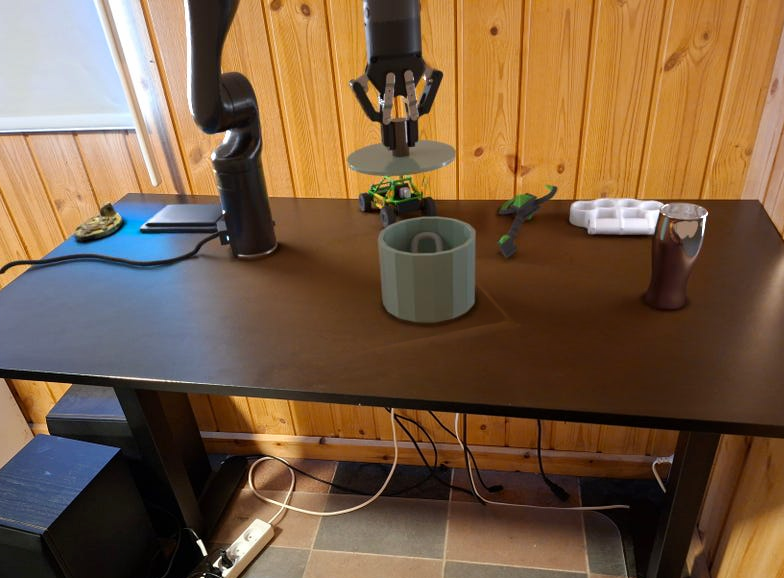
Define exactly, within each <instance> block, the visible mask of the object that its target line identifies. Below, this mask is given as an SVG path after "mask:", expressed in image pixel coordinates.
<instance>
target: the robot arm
mask: <svg viewBox="0 0 784 578" xmlns="http://www.w3.org/2000/svg"><path fill="white" fill-rule="evenodd" d="M240 2H241V0H184V12H185V13H184V14H185V27H186V42H187V44H186V45H187V46H186V47H187V49H186V50H187V51H186V52H187V53H186V54H187V57H186V58H187V99H188V106H189V112H190V114H191V117H192V120H193V122H194V124H195V125H196V127H197V128H198V129H199V130H200V131H201V132H202V133H203V134H206V135H210V136H212V135H213V136H214V135H219V134H222V133H225V135H224V137H223V140H222V142H221V143H220V144H219V145H218V146H217V147H216V148H215V149H214V150H213V152H212V154H211V158H210V160H211V165H212V170H213V173H214V179H215V182H216V186H217V187H216V188H217V192H218V196H219V201H220V204H221V206H222V211H223V216H224V221H219V222H217V227H218V232H213V233H212V234H210V235H207V236H205V237H204V238H201V240H199V241H198V242H197V243H196V245H195V247H194V249H192V250H191V251H188V252H187V253H185V254H182V255H180V256H176V257H172V258H171V257H170V258H167V259H159V260H158V259H157V260H146V261H145V260H144V261H140V260H133V259H129V258H124V257H118V256H112V255H106V254H101V253H94V252H93V253H90V252H84V253H72V254H66V255H65V254H64V255H59V256H55V257H49V258H43V259H20V260H13V261H9V262H8V263H5V264H4V265H3V266H2V267H0V275H4V274H6V272H8V270H9V269H11V268H13V267H18V266H27V265H28V266H30V265H31V266H32V265H34V266H35V265H36V266H37V265H45V264H53V263H58V262H63V261H69V260H76V259H77V260H78V259H97V260H104V261H109V262H114V263H120V264H121V263H122V264H125V265H130V266H134V267H135V266H136V267H153V266H154V267H155V266H164V265H170V264H173V263H177V262H179V261H184V260H186V259H189V258H191V257H193V256H195V255H197V254H198V253H199V252H200V250H201V248H202V247H203V246H204V245H205V244H207V243H209V242H210V241H213V240H215V239H216V238H219V242H220V245H221V246H227V245H229V247H230V252H231V256H232V258H233V259H236V258H241V259H253V258H259V257H260V258H261V257H263V256H267V255H269V254H271V253H273V252H274V251H275V250H277V248H278V241H277V237H276V231H275V227H276V222H275V220H273V219H274V218H273V214H272V208H271V203H270V198H269V191H268V187H267V186H268V185H267V181H266V174H265V169H264V164H263V163H264V162H263V158H262V157H263V155H262V154H263V148H264V141H263V133H262V126H261V117H260V109H259V102H258V98H257V95H256V92H255V89H254V86H253V85H252V83H251V81H250V79H248V77H247V76H245V74H243V73H242V72H240V71H227V72H223V73H222V59H223V51H224V47H225V43H226V41H227V37H228V34H229V32H230V30H231V28H232V26H233V23H234V20H235V17H236V16H237V15H236V14H237V13H238V10H239V6H240ZM421 12H422V3H421V0H362V13H363V23H364V24H363V25H364V34H365V45H366V46H365V48H366V58H367V62H366V66H365V68H364V73H362V74H361V75H359V76H358V77H357V78H356V79H354V78H353V79H350V80H349V82H348V86H349V88H350V90H351V92H352V94H353V95H354V97H355V98H356V101H357V102H358V104H359V105H360V108H361V109H362V110H363V112H364V115H365V116H366V118H368V119H369V120H370V121H371V122H373V123H379V126H380V138H381V141H380V142H381V143H383V145H384V146H385V147H386V148H387V149H388V150H389V151H390V150H394V137H393V124H391V119H392V108H393V105H394V99H395V98H396V97H399V96H400V97H401V100H402V103H403V106H404V112H405V115H406V118H407V119H408V131H409V147H415V142H418V140H420V138H419V119H420V118H421V117H423V116H424V115H428V114H430V112H431V110H432V107H433V104H434V102H435V99H436V97H437V94H438V91H439V89H440V86H441V83H442V81H443V78H444V73H443V71H441V70H439V69H437V68H436V67H435V68H432V67H429V66H427V64H426V60H425V59H424V57H423V43H422V19H421ZM422 77H423V82H424V83H425V84H424V87H423V90H422V92H421V95H420V97H419V100H418V98H417V93H416V88H417V86H418V85H419V83H420V81H421V79H422ZM369 82H370V84H371V85H372V86H373V87H374V89H375V90H376V92H378V111H377V110H376V109H375V107H374V106H373V104H372V102H371V100H370V98H369V96H368V95H367V93H368V92H369V86H368V84H369Z"/></svg>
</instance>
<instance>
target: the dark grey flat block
mask: <svg viewBox="0 0 784 578" xmlns="http://www.w3.org/2000/svg"><path fill="white" fill-rule="evenodd" d="M219 221H224V216H223V211H222V206H221V203H191V204H189V203H188V204H187V203H185V204H183V203H182V204H181V203H180V204H176V203H175V204H167V205H166V206H165V207H163V208H162V209H160V210H159V211H158V212H156V213H155V214H153V216H152V217H151V218H149V219H148V220H147V221H145V222H144V223H143V224H142V225H141V226H140V227H139V231H140V233H216V232H218V227H217V222H219Z"/></svg>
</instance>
